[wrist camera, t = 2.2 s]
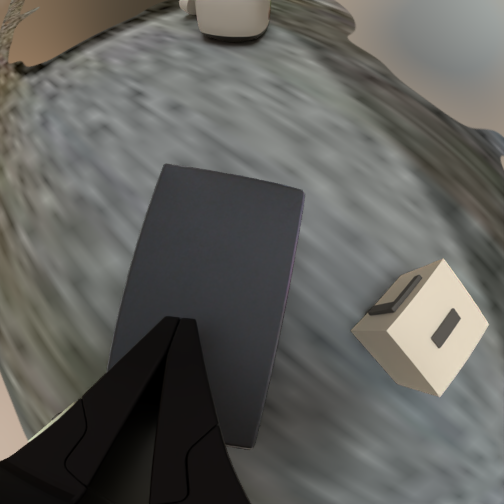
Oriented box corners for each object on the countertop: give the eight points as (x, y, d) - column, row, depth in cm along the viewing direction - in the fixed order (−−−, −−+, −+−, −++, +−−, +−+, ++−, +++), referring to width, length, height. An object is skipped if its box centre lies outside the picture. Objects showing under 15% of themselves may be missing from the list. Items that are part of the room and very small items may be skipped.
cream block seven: (441, 328, 20) (491, 324, 14) (396, 383, 19) (442, 397, 13) (397, 272, 21) (442, 253, 15) (347, 327, 20) (385, 326, 14)
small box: (252, 397, 19) (259, 459, 9) (162, 375, 19) (93, 411, 9) (282, 251, 22) (314, 186, 11) (194, 233, 22) (156, 158, 12)
